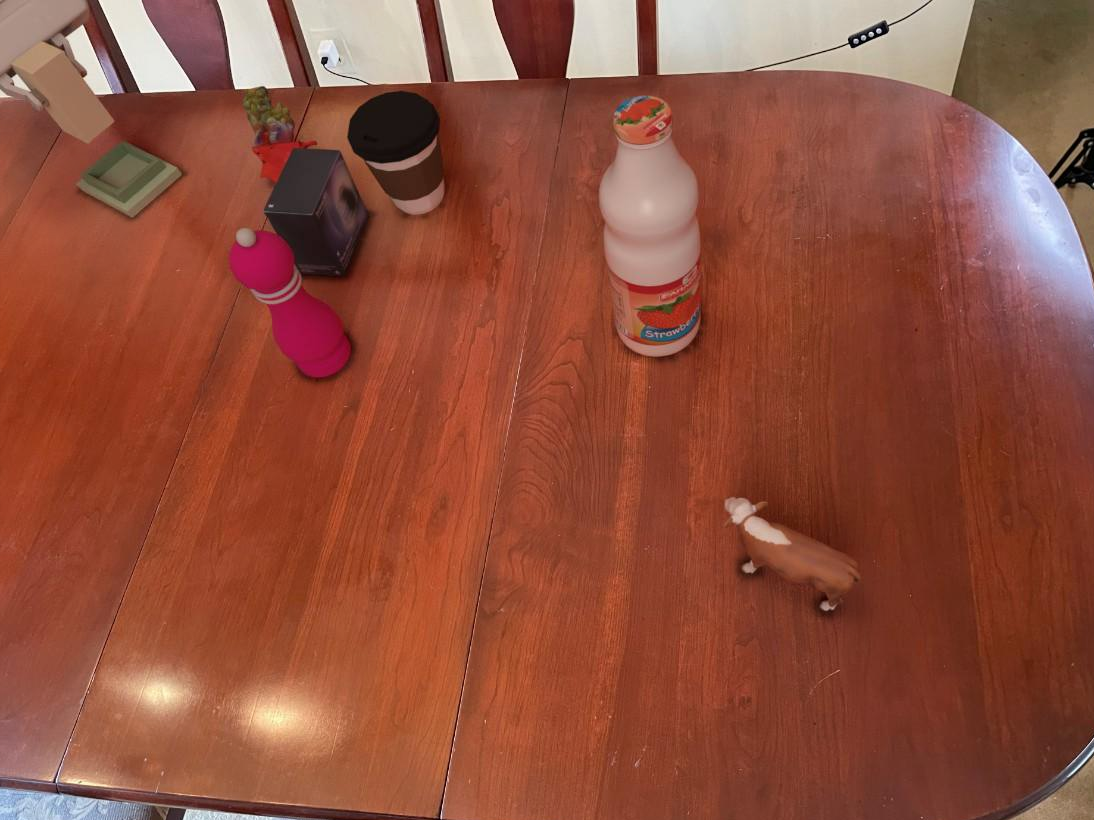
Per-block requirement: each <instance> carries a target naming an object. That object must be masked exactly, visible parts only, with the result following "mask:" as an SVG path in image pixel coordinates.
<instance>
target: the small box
mask: <svg viewBox="0 0 1094 820" xmlns="http://www.w3.org/2000/svg"><path fill="white" fill-rule="evenodd" d="M262 212H263V214H264V215H265V217H266V219H267V220H268V222H269V223H270V225H271V227H272V229H273V230H274V233H275V234H277V235H278V236H280V237H281V238H282V239H284V240H285V241H286V243H287V244H288V245H289V246H290V248H291V250H292V252H293V255H294V264H295V266H296V268H297V270H298V271H299V272H300V274H301V275H317V276H318V275H319V276H329V277H345V275H346V273H347V271H348V268H349V266H350V263H351V261H352V258H353V255H354V253H355V251H356V248H357V246H358V243H359V241H360V238H361V236H362V234H363V231H364V228H365V225H366V223H367V221H368V218H369V216H370V213H369V211H368V209H367V207H366V205H365V202H364V199H363V198H362V196H361V193H360V192H359V189H358V187H357V185H356V182H355V180H354V179H353V176H352V173H351V171H350V170H349V167H348V165H347V162H346V160H345V158H344V155H343V153H342V151H341V150H340V149H327V148H326V149H325V148H293V149H292V151H291V153H290V155H289V158H288V160H287V162H286V164H285V166H284V168H283V170H282V172H281V174H280V176H279V178H278V180H277V183H275V185H274V187H273V189H272V191H271V193H270V195H269V197H268V199H267V201H266V203H265V206H264V208H263V210H262Z"/></svg>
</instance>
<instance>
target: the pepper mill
mask: <svg viewBox="0 0 1094 820" xmlns="http://www.w3.org/2000/svg"><path fill="white" fill-rule="evenodd" d="M235 239H236V240H235V241H234V243H233V244H232V246H231V247H230V250H229V253H228V265H229V269H230V271H231V274H232V275H233V277H234V278H235V279H236V281H237V282H238V283H239V284H240V285H243V287H245V288H247V289H249V290H250V292H251V293H252V295H253V296H254V298H255V299H256V300H257V301H259V302H260V303H261V304H266V307H267V308H268V310H269V312H270V316H271V326H272V327H271V329H272V334H273V338H274V341H275V343H276V345H277V348H279V350H280V352H281V353H282V354H283V355H284V356H285V357H286V358H288V359H289V360H292V361H293V362H294V363H295V365H296V366H297V367H298V369H299V370H300V371H301V373H302V374H304V375H306V376H307V377H312V378H324V377H328V376H331V375H333V374H335V373H337V372H339V371H340V370H341V369H342V368H343V367H344V366H345V365H346V364H347V362H348V361H349V360H350V357H351V352H352V348H351V343H350V341H349V340H348V338H347V336H346V335H345V333H344V327H343V322H342V320H341V318H340V316H339V314H337V312H336V311H335V309H333V308H332V306H331V305H329V304H328V303H326V302H325V301H323V300H321V299H319V298H317V297H315V296H313V295H311V294H310V293H308V291H307V290H306V289H305V288H304V286H303V284H302V281H303V279H302V277H303V276H302V274H300V272H299V271H298V270H297V268H296V266H295V264H294V255H293V252H292V250H291V248H290V246H289V245H288V244H287V243H286V241H285V240H284V239H282V238H281V237H280V236H278V235H277V234H276V232H272V231H269V230H264V229H260V230H259V229H257V230H253V229H251V228H249V227H241V228H239V229H238V230H237V231H236V234H235Z"/></svg>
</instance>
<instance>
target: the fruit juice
mask: <svg viewBox="0 0 1094 820" xmlns="http://www.w3.org/2000/svg"><path fill="white" fill-rule="evenodd" d="M612 121H613V123H612V125H613V132H614V135H615V136H614V137H615V138H616V140H617V142H618V144H617V149H616V153H615V157H614V160H613V161H612V162H611V163H610V165H609V166H608V167H607V168H606V170H605V171H604V173H603V175H602V177H601V180H600V182H599V190H598V204H599V205H598V206H599V210H600V213H601V216H602V219H603V220H604V222H605V224H604V227H603V252H604V258H605V262H606V263H605V264H606V271H607V277H608V278H607V279H608V284H609V291H610V296H611V297H610V298H611V304H612V313H613V319H614V325H615V329H616V332H617V334H618V337H619V338H620V340H621V341H622V342H623V344H624V345H625V346H626V347H627V348H629V349H630V350H631V351H633V352H634V353H637V354H639V355H643V356H647V357H654V358H655V357H665V356H670V355H673V354H676V353H679V352H680V351H682V350H684V349H685V348H686V347H688V346H689V345H690V344H691V343H692V342H693V340H694V339H695V337H696V336H697V333H698V332H699V329H700V325H701V320H702V319H701V318H702V311H701V310H702V306H701V305H702V303H701V302H702V299H701V298H702V296H701V295H702V294H701V293H702V292H701V291H702V289H701V287H702V285H701V284H702V283H701V280H702V279H701V251H702V250H701V249H702V248H701V246H702V245H701V244H702V242H701V232H700V231H701V230H700V225H699V220H698V218H697V216H696V213H697V209H698V205H699V197H700V194H699V184H698V179H697V177H696V174H695V172H694V171H693V168H692V167H691V165H689V163H688V162H687V161H686V160H685V159H684V158H683V157H682V156H681V154H680V152H679V150H678V149H677V146H676V144H675V142H674V140H673V138H672V136H671V134H672V132H673V128H674V127H673V125H674V117H673V113H672V109H671V107H670V105H669V104H668V103H667V102H666V101H665V100H663V99H661V98H660V97H657V96H653V95H638V96H637V95H636V96H633V97H631V98H628V99H626V100H625V101H623V102H622V103H620V104H619V106H617V108H616V109H615V111H614V114H613V120H612Z"/></svg>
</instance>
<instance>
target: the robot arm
mask: <svg viewBox="0 0 1094 820" xmlns="http://www.w3.org/2000/svg"><path fill="white" fill-rule="evenodd" d="M89 20H90V7H89V2H88V0H0V91H1V92H3V93H4V94H5V96H8V97H10V98H14V99H18V100H21V101H24V102H28V103H29V104H30V105H31V106H32V107H34V108H35V110H36V111H38V112H42V111H43V110H44V109H45V108H46V107H47V106H48V105H49V100H48V99H47V98H46V97H45V96H44V95H41V92H39V91H38V90H37V89H36V88H35V89H33V90H32V91H30V90H29V89H25V88H22V87H19V86H17V85H15V81H14V79H13V78H14V77H15V76H16V75H17V73H16V72H15V71H14V70H13V69H12V67H13V66H12V64H11V63H12V62H14V61H15V60H16V59H18V58H19V57H20V56H22V55H23V54H24V53H26V52H27V51H28V50H30V49H31V48H32V47H34V46H35V45H36V44H38V43H39V42H41V41H43V42H45V43H47V44H49V45H51V46H53V47H56V48H58V49H60V50H62V51H63V52H64V53H65V55H66V56H67V57H68V59H69V60H70V61H71V63H72V64H73V65H74V67H75V68H76V69H77V71H78V72H79V74H80V75H81V76H82V78H83V79H84V78H86V76H88V71H87V69H86V68H85V67H84V66H83V65H82V64H81V63H80V62H79V61H78V60H77V59H76V58H75V54H74V52H73V50H72V46H71V43H70V41H69V39H68V38H67V37H69V36H70V35H72V34H73V33H74V32H75V31H77V30H78V29H79V28H81V26H83V25H84V24H86V23H87V22H88V21H89ZM17 76H18V75H17Z"/></svg>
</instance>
